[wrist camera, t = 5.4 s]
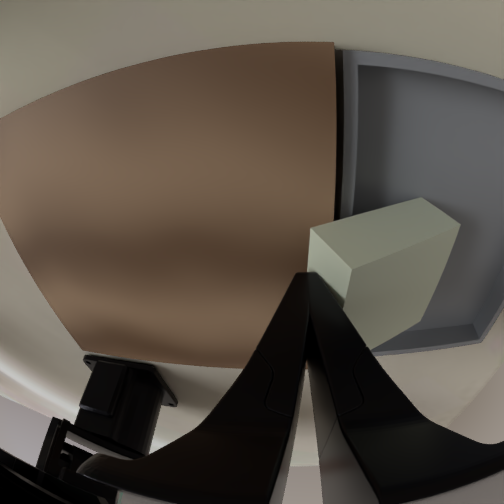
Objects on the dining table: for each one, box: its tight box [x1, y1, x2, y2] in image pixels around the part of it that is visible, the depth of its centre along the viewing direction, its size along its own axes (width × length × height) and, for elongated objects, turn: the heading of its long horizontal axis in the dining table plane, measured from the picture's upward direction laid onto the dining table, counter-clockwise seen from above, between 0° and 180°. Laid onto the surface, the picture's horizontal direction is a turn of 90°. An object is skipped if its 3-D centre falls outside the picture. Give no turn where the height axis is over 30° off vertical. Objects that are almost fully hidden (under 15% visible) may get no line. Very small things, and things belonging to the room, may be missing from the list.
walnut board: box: [0, 42, 336, 369], centre depth 12 cm, size 14×14×2 cm
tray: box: [333, 49, 504, 356], centre depth 11 cm, size 14×10×2 cm
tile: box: [307, 197, 461, 350], centre depth 10 cm, size 5×5×2 cm
